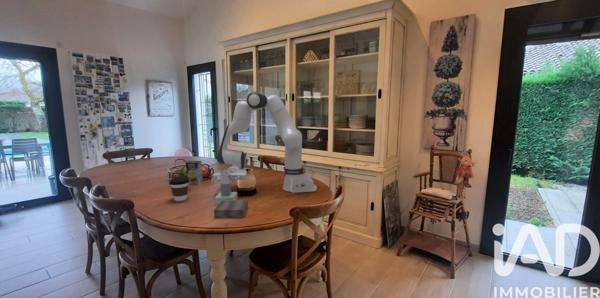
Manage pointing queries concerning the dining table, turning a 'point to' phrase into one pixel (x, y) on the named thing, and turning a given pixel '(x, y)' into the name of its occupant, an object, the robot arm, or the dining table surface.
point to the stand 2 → (231, 209)
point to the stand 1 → (225, 197)
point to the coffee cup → (179, 188)
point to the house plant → (183, 174)
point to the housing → (225, 182)
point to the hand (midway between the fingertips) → (227, 179)
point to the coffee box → (194, 172)
